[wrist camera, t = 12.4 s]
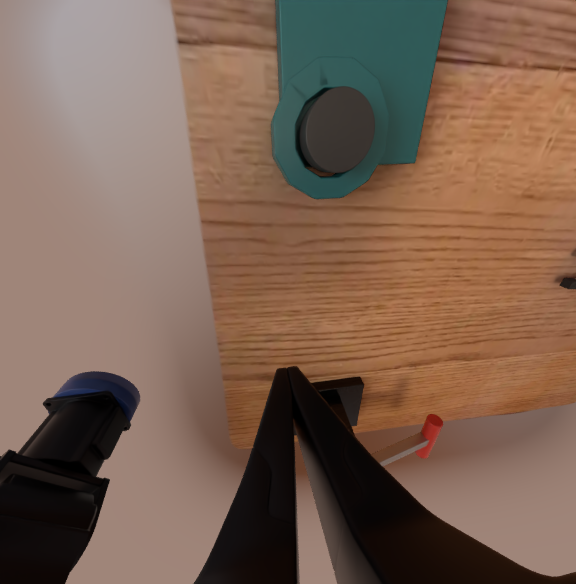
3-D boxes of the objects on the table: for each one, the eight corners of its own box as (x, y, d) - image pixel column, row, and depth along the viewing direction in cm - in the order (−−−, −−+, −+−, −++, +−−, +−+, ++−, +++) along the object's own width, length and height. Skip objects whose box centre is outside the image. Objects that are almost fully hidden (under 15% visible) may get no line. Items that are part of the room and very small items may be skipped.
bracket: (360, 376, 28) (407, 468, 19) (353, 417, 32) (390, 509, 23) (277, 387, 27) (289, 490, 18) (281, 428, 31) (292, 528, 22)
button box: (272, 195, 17) (277, 201, 14) (255, -94, 11) (256, -195, 8) (397, 189, 18) (426, 193, 15) (444, -79, 12) (510, -164, 9)
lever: (430, 408, 25) (451, 428, 23) (417, 439, 28) (434, 460, 26) (321, 453, 22) (334, 482, 20) (319, 484, 24) (330, 512, 22)
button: (299, 173, 14) (305, 174, 12) (298, 96, 12) (305, 85, 11) (357, 171, 14) (370, 171, 13) (364, 95, 12) (380, 85, 11)
